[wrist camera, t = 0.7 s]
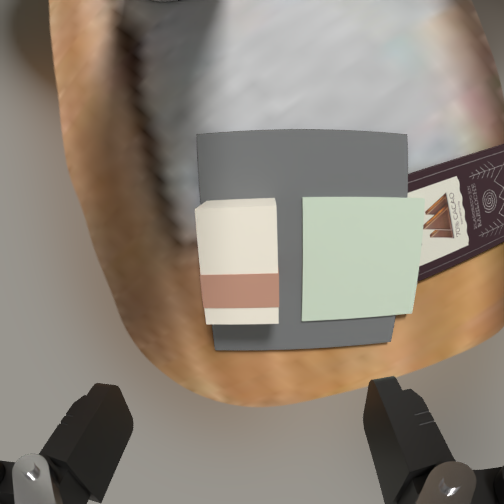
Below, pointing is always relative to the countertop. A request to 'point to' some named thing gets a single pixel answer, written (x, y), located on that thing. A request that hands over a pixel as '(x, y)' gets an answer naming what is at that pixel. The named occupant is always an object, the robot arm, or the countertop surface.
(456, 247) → the chocolate bar
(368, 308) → the mat
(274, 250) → the card box
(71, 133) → the countertop surface
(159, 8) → the countertop surface
